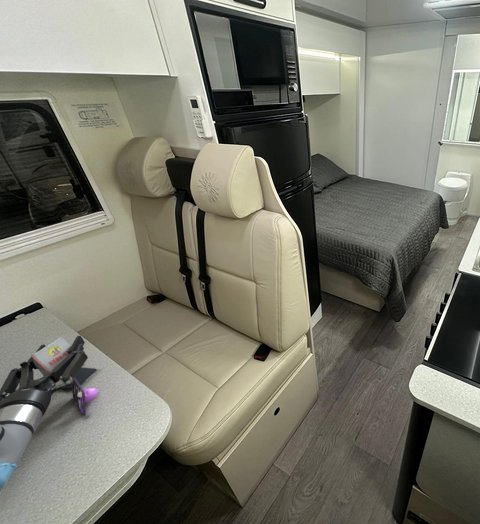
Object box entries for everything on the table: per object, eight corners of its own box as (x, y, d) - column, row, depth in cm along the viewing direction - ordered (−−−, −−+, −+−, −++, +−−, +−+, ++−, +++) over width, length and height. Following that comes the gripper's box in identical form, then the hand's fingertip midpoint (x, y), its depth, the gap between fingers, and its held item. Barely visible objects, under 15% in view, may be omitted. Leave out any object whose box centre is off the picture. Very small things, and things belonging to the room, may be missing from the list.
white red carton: (47, 381, 75) (26, 354, 70) (75, 361, 81) (57, 335, 76) (57, 384, 74) (35, 357, 69) (84, 364, 80) (66, 338, 75)
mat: (46, 386, 77) (45, 385, 77) (69, 367, 82) (68, 366, 82) (75, 389, 76) (74, 387, 76) (96, 369, 81) (96, 368, 81)
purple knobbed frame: (67, 376, 71) (78, 394, 67) (94, 368, 76) (106, 384, 71) (68, 398, 73) (79, 418, 68) (95, 389, 77) (106, 407, 73)
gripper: (-33, 445, 59) (24, 365, 77) (85, 407, 66) (112, 342, 84) (-60, 424, 55) (7, 345, 74) (69, 386, 62) (100, 322, 80)
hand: (63, 343), depth 79 cm, fingers closed on white red carton, 7 cm apart
